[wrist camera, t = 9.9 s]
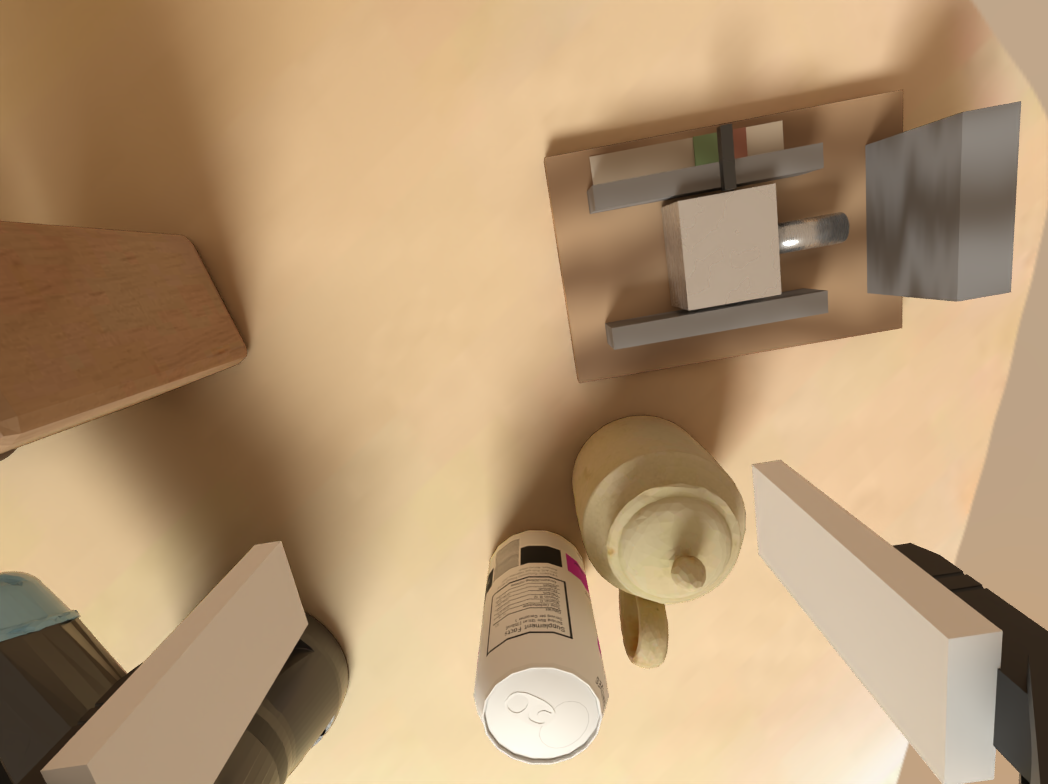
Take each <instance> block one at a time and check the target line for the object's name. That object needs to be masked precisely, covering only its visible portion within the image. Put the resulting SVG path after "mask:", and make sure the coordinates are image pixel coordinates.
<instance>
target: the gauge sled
mask: <svg viewBox="0 0 1048 784" xmlns="http://www.w3.org/2000/svg"><path fill="white" fill-rule="evenodd" d="M716 129H717V142H718V155H719V168H720V181H721V191H726V190H732V189H735V188H737V185H736V171H735V157H734V143H733V128H732V123H730V124H725V125H720V126H719V127H717V128H716ZM661 211H662V221H663V230H664V240H665V249H666V259H667V268H668V278H669V287H670V297H671V306H675V307H678V308H681V309H685V310H688V311H689V310H695V309H701V308H707V307H712V306H718V305H724V304H729V303H735V302H741V301H747V300H752V299H758V298H764V297H769V296H775V295H781V275H780V256H779V254H783V253H789V252H794V251H800V250H806V249H811V248H817V247H822V246H828V245H834V244H839V243H843V242H844V241H845V240H846V239H847V237H848V234H849V220H848V218H847V216H846V215H845V214H844V213H843V212H837V213H832V214H826V215H821V216H815V217H810V218H804V219H799V220H793V221H788V222H782V223H778V218H777V200H776V183H774V184H769V185H763V186H758V187H752V188H747V189H742V190H736V191H731V192H725V193H720V194H714V195H709V196H704V197H698V198H693V199H687V200H682V201H677V202H675V203H672V204H670V205H667V206H664V207H662V208H661Z"/></svg>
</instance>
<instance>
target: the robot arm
mask: <svg viewBox="0 0 1048 784" xmlns="http://www.w3.org/2000/svg"><path fill="white" fill-rule="evenodd" d="M752 472H753V486H754V499H755V513H756V527H757V541H758V554H759V556H760V557H761V558H762V559H763V561H764V562H765V563H766V564H767V566H768V567H769V568H770V569H771V571H772V572H773V573H774V574H775V576H776V577H777V578H778V579H779V581H780V582H781V583H782V584H783V586H784V587H785V588H786V589H787V591H788V592H789V593H790V594H791V596H792V597H793V598H794V599H795V601H796V602H797V603H798V604H799V606H800V607H801V608H802V609H803V611H804V612H805V613H806V614H807V616H808V617H809V618H810V619H811V621H812V622H813V623H814V624H815V626H816V627H817V628H818V629H819V631H820V632H821V633H822V634H823V636H824V637H825V638H826V639H827V641H828V642H829V643H830V644H831V645H832V647H833V648H834V649H835V650H836V652H837V653H838V654H839V655H840V657H841V658H842V659H843V660H844V662H845V663H846V664H847V665H848V667H849V668H850V669H851V670H852V672H853V673H854V674H855V675H856V677H857V678H858V679H859V680H860V682H861V683H862V684H863V685H864V687H865V688H866V689H867V690H868V692H869V693H870V694H871V695H872V697H873V698H874V699H875V700H876V702H877V703H878V704H879V705H880V707H881V708H882V709H883V710H884V712H885V713H886V714H887V715H888V717H889V718H890V719H891V720H892V722H893V723H894V724H895V725H896V727H897V728H898V729H899V730H900V732H901V733H902V734H903V735H904V737H905V738H906V739H907V740H908V742H909V743H910V744H911V745H912V747H913V748H914V749H915V750H916V751H917V753H918V754H919V755H920V756H921V758H922V759H923V760H924V761H925V762H926V764H927V765H928V766H929V768H930V769H931V770H932V771H933V773H934V774H935V775H936V776H937V778H938V779H939V780H940V781H941V783H942V784H963V783H971V782H978V781H986V780H992V779H994V770H995V769H994V768H995V753H996V749H997V750H998V751H999V752H1000V753H1001V754H1002V755H1003V756H1004V757H1005V758H1006V759H1007V760H1008V761H1009V762H1010V763H1011V764H1012V765H1013V766H1014V767H1015V768H1016V770H1017V771H1018V772H1019V773H1020V774H1019V784H1048V631H1047V630H1045V629H1044V628H1042V627H1041V626H1040V625H1038V624H1037V623H1035V622H1034V621H1032V620H1031V619H1030V618H1028V617H1027V616H1025V615H1024V614H1023V613H1021V612H1020V611H1018V610H1017V609H1016V608H1014V607H1013V606H1011V605H1010V604H1008V603H1007V602H1005V601H1004V600H1003V599H1001V598H1000V597H998V596H997V595H996V594H994V593H993V592H991V591H990V590H989V589H987V588H986V589H984V588H983V587H982V585H981V584H980V583H979V582H977V581H975V580H974V579H973V578H972V577H970V576H969V575H964V574H963V571H962V570H960V569H959V568H957V567H956V566H955V565H953V564H952V563H950V562H949V561H948V560H946V559H945V558H943V557H942V556H940V555H938V554H936V553H933V552H931V551H929V550H926V549H924V548H921V547H919V546H916V545H914V544H912V543H908V544H901V545H894V546H892V545H890V544H889V543H888V542H886V541H885V540H884V539H883V538H881V537H880V536H879V535H877V534H876V533H875V532H874V531H872V530H871V529H870V528H868V527H867V526H866V525H864V524H863V523H862V522H861V521H859V520H858V519H857V518H855V517H854V516H853V515H852V514H850V513H849V512H848V511H846V510H845V509H844V508H842V507H841V506H840V505H839V504H837V503H836V502H835V501H833V500H832V499H831V498H829V497H828V496H827V495H826V494H824V493H823V492H822V491H820V490H819V489H818V488H817V487H815V486H814V485H813V484H811V483H810V482H809V481H807V480H806V479H805V478H804V477H802V476H801V475H800V474H798V473H797V472H796V471H794V470H793V469H792V468H791V467H789V466H788V465H787V464H785V463H784V462H783V461H782V460H776V461H770V462H764V463H757V464H752ZM79 617H80V614H79V613H78V612H77V611H76V610H70V609H69V608H68V607H67V606H66V605H65V604H64V603H63V602H62V601H61V600H60V599H59V598H58V597H57V596H56V595H55V594H54V593H53V592H51V591H50V590H49V589H48V588H47V587H46V586H45V585H44V584H43V583H42V582H41V581H40V580H39V579H38V578H36V577H35V576H33V575H30V574H28V573H24V572H15V571H12V572H2V573H0V784H284V783H285V781H286V779H287V778H288V776H289V775H290V774H291V773H292V772H293V771H294V769H295V768H296V767H297V766H298V765H299V763H300V762H301V761H302V759H303V758H304V756H305V755H306V754H307V752H308V751H309V750H310V748H312V747H313V746H314V745H315V744H317V743H318V742H319V741H320V740H321V739H322V738H323V736H324V735H325V734H326V733H327V732H328V730H329V729H330V728H331V726H332V724H333V723H334V721H335V719H336V717H337V715H338V712H339V710H340V708H341V705H342V703H343V700H344V698H345V695H346V692H347V687H348V668H347V663H346V659H345V656H344V654H343V652H342V649H341V648H340V646H339V644H338V642H337V641H336V639H335V638H334V637H333V635H332V634H331V633H330V632H329V631H328V630H327V629H326V628H325V627H324V626H323V625H322V624H321V623H320V622H318V621H317V620H316V619H314V618H313V617H311V616H310V615H308V614H307V613H305V612H304V609H303V606H302V603H301V600H300V597H299V594H298V591H297V588H296V585H295V581H294V578H293V575H292V572H291V569H290V566H289V563H288V560H287V557H286V554H285V551H284V547H283V544H282V541H276V542H269V543H263V544H257V545H254V546H253V547H252V548H251V549H250V551H249V552H248V553H247V554H246V555H245V556H244V557H243V558H242V559H241V560H240V561H239V562H238V563H237V564H236V565H235V566H234V567H233V568H232V570H231V571H230V572H229V573H228V574H227V575H226V576H225V577H224V578H223V579H222V580H221V581H220V582H219V583H218V584H217V585H216V586H215V587H214V588H213V590H212V591H211V592H210V593H209V594H208V595H207V596H206V597H205V598H204V599H203V600H202V601H201V602H200V603H199V604H198V605H197V606H196V607H195V609H194V610H193V611H192V612H191V613H190V614H189V615H188V616H187V617H186V618H185V619H184V620H183V621H182V622H181V623H180V624H179V625H178V626H177V627H176V629H175V630H174V631H173V632H172V633H171V634H170V635H169V636H168V637H167V638H166V639H165V640H164V641H163V642H162V643H161V644H160V645H159V646H158V648H157V649H156V650H155V651H154V652H153V653H152V654H151V655H150V656H149V657H148V658H147V659H146V660H145V661H144V662H143V663H141V664H140V665H138V666H137V667H136V668H134V669H133V670H132V671H130V672H129V673H127V672H126V671H125V670H124V669H123V668H122V667H121V666H120V665H119V663H118V662H117V661H116V660H115V659H114V658H113V657H112V656H111V655H110V654H109V652H108V651H107V650H106V649H105V648H104V647H103V646H102V645H101V644H100V642H99V641H98V640H97V639H96V638H95V637H94V636H93V634H92V633H91V632H90V631H89V630H88V629H87V627H86V626H85V625H84V624H83V623H82V621H81V620H80V619H79Z"/></svg>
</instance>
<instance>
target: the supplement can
mask: <svg viewBox="0 0 1048 784" xmlns="http://www.w3.org/2000/svg"><path fill="white" fill-rule="evenodd" d="M608 697H609V694H608V688H607V682H606V676H605V671H604V666H603V661H602V656H601V651H600V646H599V641H598V636H597V630H596V625H595V620H594V615H593V610H592V605H591V600H590V595H589V590H588V585H587V580H586V574H585V569H584V564H583V559H582V557H581V556H580V554H579V553H578V551H577V549H576V548H575V546H574V545H573V544H571V543H570V542H569V541H568V540H566V539H565V538H564V537H562V536H561V535H558V534H555V533H552V532H548V531H545V530H528V531H525V532H522V533H519V534H516V535H513V536H511V537H509V538H508V539H507V540H506V541H504V542H503V543H502V544H500V545H499V546H498V548H497V549H496V551H495V552H494V554H493V556H492V557H491V559H490V564H489V569H488V576H487V584H486V593H485V602H484V610H483V619H482V627H481V636H480V645H479V653H478V662H477V671H476V679H475V688H474V700H475V704H476V708H477V712H478V715H479V717H480V719H481V721H482V723H483V724H484V728H485V732H486V735H487V736H488V737H489V739H490V740H491V742H492V743H493V744H494V746H495V747H496V748H497V749H498V750H500V751H501V752H503V753H504V754H506V755H507V756H509V757H510V758H512V759H515V760H518V761H522V762H525V763H529V764H554V763H558V762H561V761H565V760H568V759H571V758H573V757H574V756H576V755H577V754H579V753H580V752H582V751H583V750H585V749H587V747H588V746H589V745H590V744H591V742H592V741H593V740H594V738H595V737H596V736H597V734H598V731H599V727H600V724H601V720H602V718H603V715H604V712H605V708H606V705H607V701H608Z"/></svg>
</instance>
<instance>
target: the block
mask: <svg viewBox="0 0 1048 784" xmlns="http://www.w3.org/2000/svg"><path fill="white" fill-rule="evenodd" d="M246 356H247V349H246V345H245V343H244V341H243V340H242V338H241V336H240V334H239V332H238V330H237V328H236V326H235V324H234V322H233V320H232V318H231V316H230V314H229V312H228V311H227V309H226V307H225V305H224V303H223V301H222V299H221V297H220V295H219V293H218V291H217V289H216V287H215V285H214V283H213V282H212V280H211V278H210V276H209V274H208V272H207V270H206V268H205V266H204V264H203V262H202V260H201V258H200V256H199V254H198V253H197V251H196V249H195V247H194V245H193V244H192V243H191V242H190V241H189V240H188V239H187V238H186V237H185V236H183V235H173V234H160V233H147V232H135V231H122V230H109V229H96V228H83V227H70V226H57V225H44V224H31V223H19V222H6V221H0V454H1V453H4V452H7V451H10V450H12V449H15V448H18V447H21V446H23V445H26V444H29V443H31V442H34V441H37V440H40V439H42V438H45V437H48V436H50V435H53V434H56V433H59V432H61V431H64V430H67V429H70V428H72V427H75V426H78V425H80V424H83V423H86V422H89V421H91V420H94V419H97V418H99V417H102V416H105V415H108V414H110V413H113V412H116V411H119V410H121V409H124V408H127V407H129V406H132V405H135V404H138V403H140V402H143V401H146V400H148V399H151V398H153V397H156V396H159V395H161V394H164V393H166V392H169V391H171V390H174V389H176V388H179V387H181V386H184V385H186V384H189V383H191V382H194V381H197V380H199V379H202V378H204V377H207V376H209V375H212V374H214V373H217V372H219V371H222V370H224V369H227V368H229V367H232V366H235V365H237V364H239V363H240V362H241V361H242V360H243V359H244V358H245V357H246Z"/></svg>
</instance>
